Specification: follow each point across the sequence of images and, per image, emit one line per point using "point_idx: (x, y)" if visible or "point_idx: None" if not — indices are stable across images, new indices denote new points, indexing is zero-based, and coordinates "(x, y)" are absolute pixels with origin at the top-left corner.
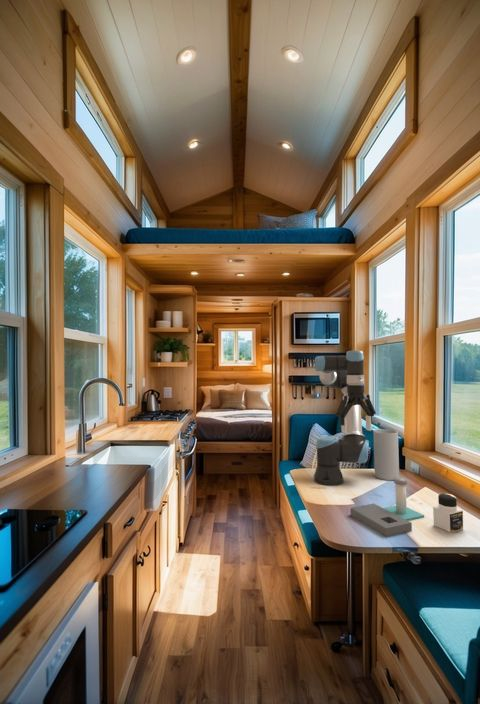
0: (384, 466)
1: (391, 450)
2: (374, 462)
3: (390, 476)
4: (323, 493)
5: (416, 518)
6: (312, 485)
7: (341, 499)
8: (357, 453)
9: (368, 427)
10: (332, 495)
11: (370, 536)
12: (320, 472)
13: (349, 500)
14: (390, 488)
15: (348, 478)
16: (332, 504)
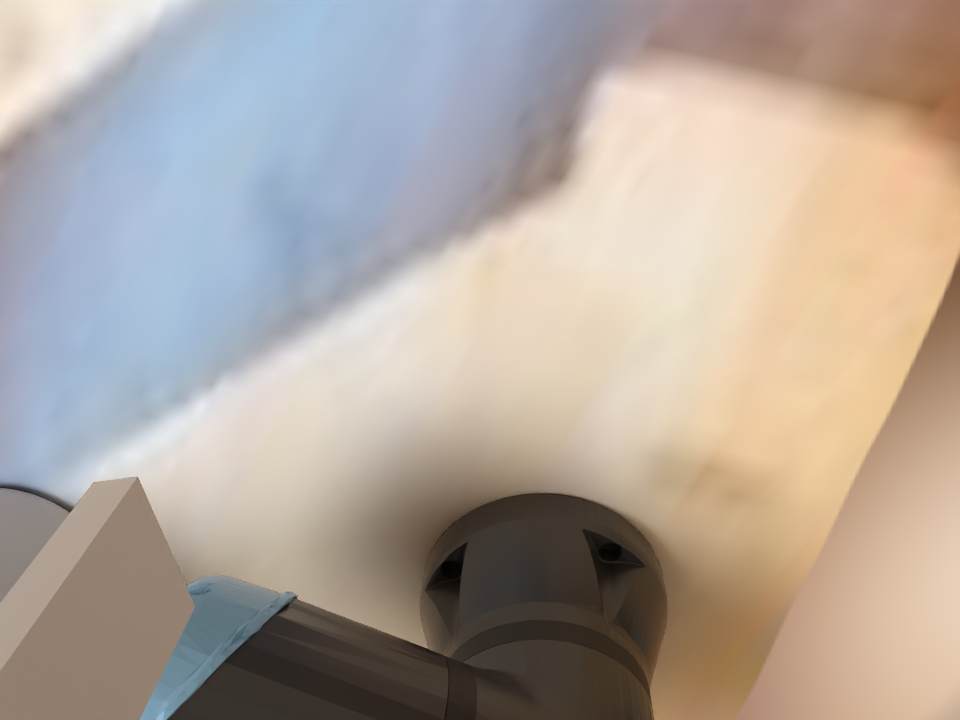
0: (6, 584)
1: None
2: None
3: (5, 507)
4: (738, 357)
5: None
6: (727, 533)
7: (660, 195)
8: (283, 646)
9: (125, 581)
10: (687, 298)
11: None
12: (646, 622)
13: (601, 156)
14: (99, 334)
15: (352, 600)
16: (811, 100)
